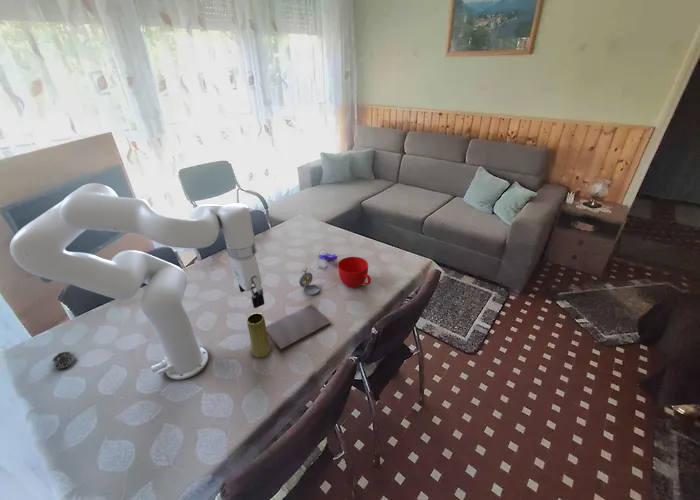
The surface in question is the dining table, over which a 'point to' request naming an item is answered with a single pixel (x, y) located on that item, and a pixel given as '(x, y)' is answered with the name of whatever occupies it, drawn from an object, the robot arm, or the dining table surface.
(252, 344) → the vase
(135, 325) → the dining table surface
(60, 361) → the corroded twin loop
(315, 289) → the pocket watch
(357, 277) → the ceramic cup
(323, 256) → the game controller
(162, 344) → the robot arm
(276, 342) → the serving board
